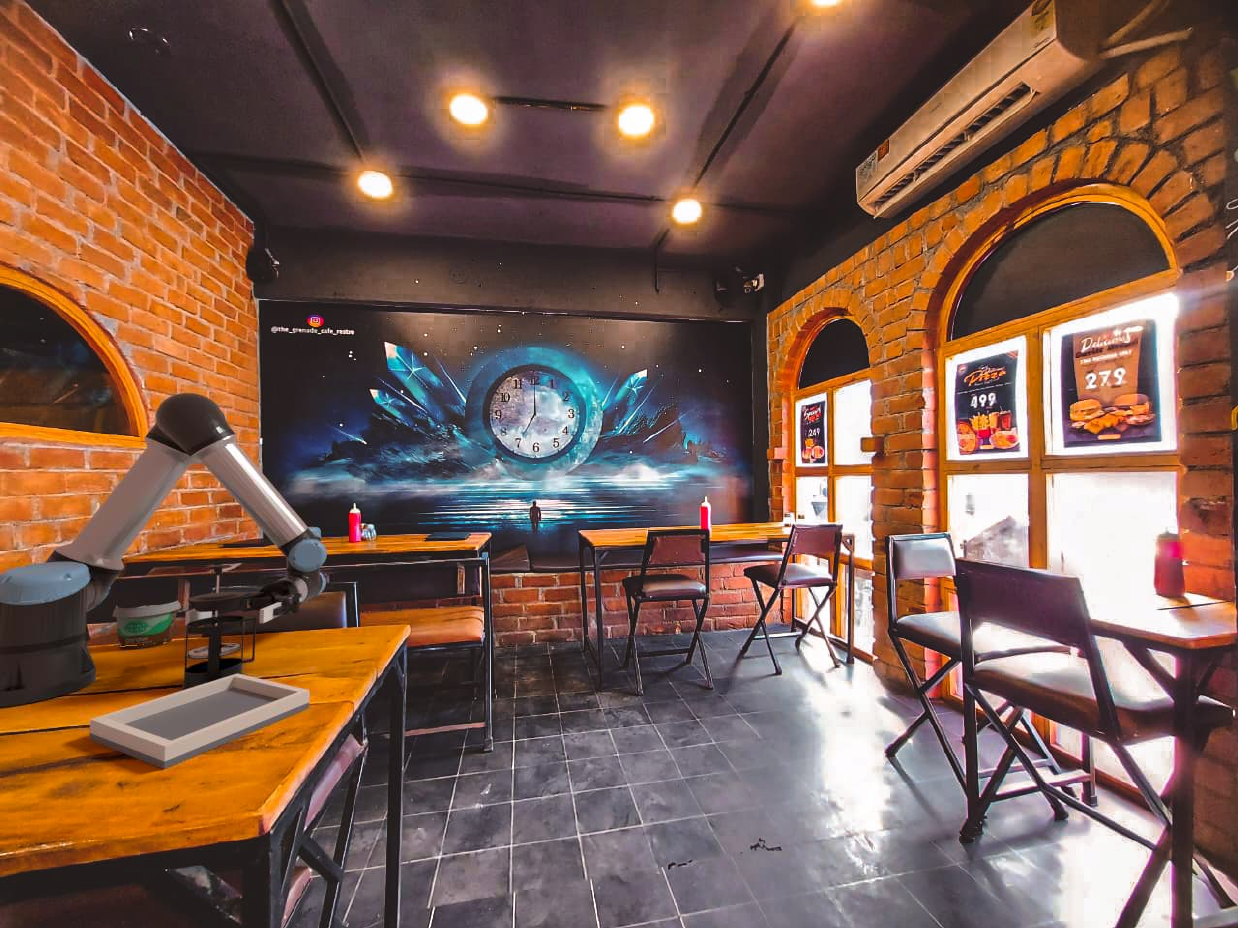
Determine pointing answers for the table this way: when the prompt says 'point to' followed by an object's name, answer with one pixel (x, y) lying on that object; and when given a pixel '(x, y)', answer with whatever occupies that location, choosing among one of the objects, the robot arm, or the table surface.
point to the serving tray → (197, 718)
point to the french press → (215, 637)
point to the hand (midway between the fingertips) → (224, 617)
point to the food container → (146, 625)
